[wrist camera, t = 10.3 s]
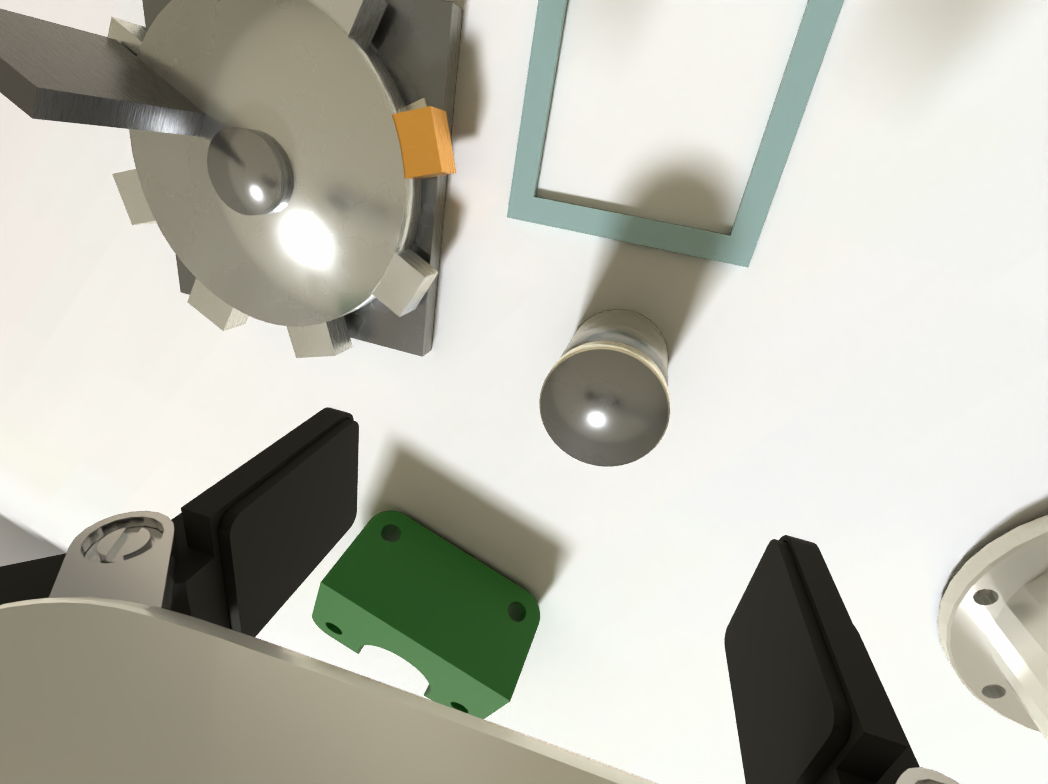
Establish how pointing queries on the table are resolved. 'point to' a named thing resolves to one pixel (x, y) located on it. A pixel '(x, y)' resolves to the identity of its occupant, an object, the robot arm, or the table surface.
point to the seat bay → (653, 233)
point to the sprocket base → (422, 80)
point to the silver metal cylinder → (609, 390)
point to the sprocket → (254, 151)
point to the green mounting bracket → (430, 612)
